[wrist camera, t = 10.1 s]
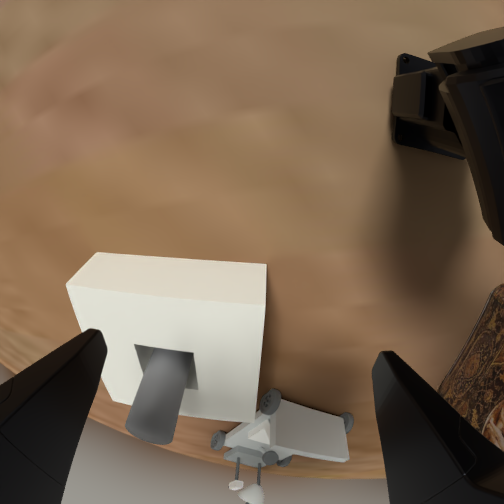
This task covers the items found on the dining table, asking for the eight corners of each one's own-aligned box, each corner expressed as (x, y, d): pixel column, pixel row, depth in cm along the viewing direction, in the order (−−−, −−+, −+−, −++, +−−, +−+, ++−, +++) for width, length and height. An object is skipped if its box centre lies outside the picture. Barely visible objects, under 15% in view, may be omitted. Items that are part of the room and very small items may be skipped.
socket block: (266, 264, 22) (265, 305, 17) (256, 382, 28) (254, 423, 24) (96, 252, 22) (65, 284, 18) (128, 366, 29) (112, 400, 24)
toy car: (269, 510, 30) (194, 496, 27) (270, 458, 38) (204, 439, 36) (363, 477, 22) (274, 465, 20) (352, 409, 31) (274, 382, 29)
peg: (195, 322, 24) (167, 426, 15) (198, 349, 25) (176, 447, 16) (159, 318, 24) (119, 416, 15) (164, 345, 25) (132, 439, 16)
